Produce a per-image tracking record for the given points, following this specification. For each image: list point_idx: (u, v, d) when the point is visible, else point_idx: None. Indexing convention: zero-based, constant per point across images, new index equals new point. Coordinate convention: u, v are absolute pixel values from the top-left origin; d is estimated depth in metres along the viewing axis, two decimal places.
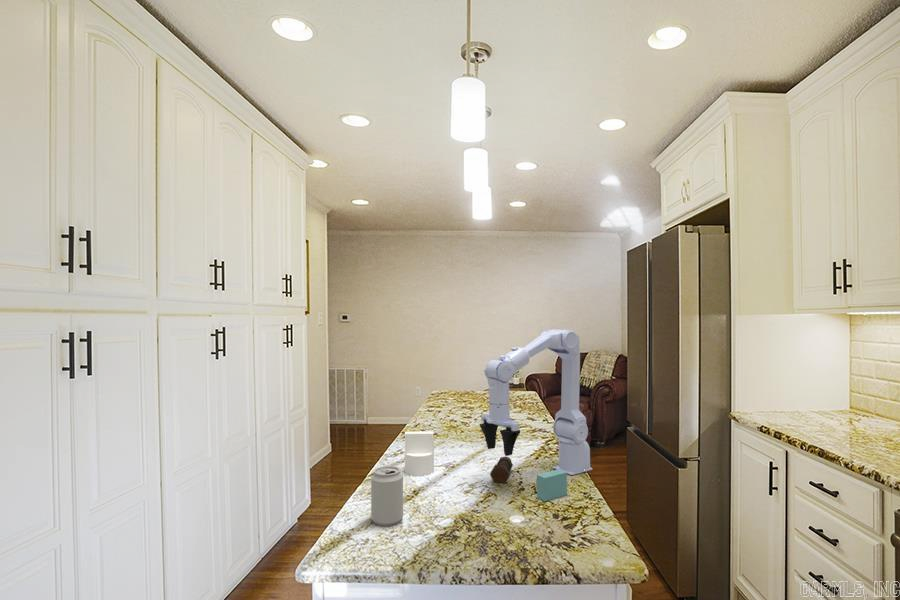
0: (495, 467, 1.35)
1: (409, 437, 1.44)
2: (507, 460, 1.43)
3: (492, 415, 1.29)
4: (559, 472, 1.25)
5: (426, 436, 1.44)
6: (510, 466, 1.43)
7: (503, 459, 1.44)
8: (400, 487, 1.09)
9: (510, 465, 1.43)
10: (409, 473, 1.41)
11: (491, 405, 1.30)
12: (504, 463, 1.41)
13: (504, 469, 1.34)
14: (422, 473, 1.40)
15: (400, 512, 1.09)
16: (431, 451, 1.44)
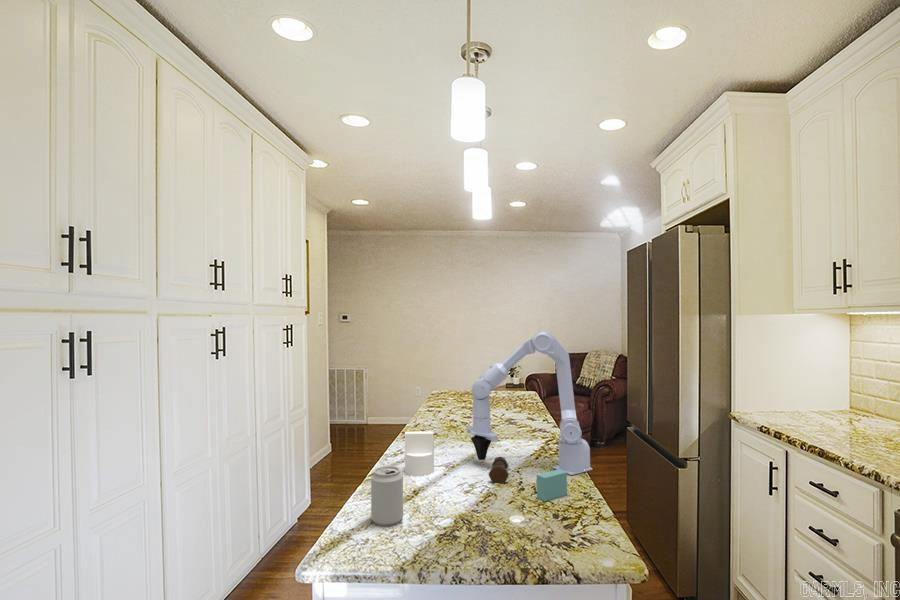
0: (494, 467, 1.34)
1: (409, 437, 1.44)
2: (503, 460, 1.43)
3: (475, 427, 1.49)
4: (559, 472, 1.25)
5: (426, 436, 1.44)
6: (506, 466, 1.43)
7: (499, 459, 1.44)
8: (400, 487, 1.09)
9: (506, 465, 1.43)
10: (409, 473, 1.41)
11: (474, 419, 1.50)
12: (501, 463, 1.41)
13: (503, 469, 1.34)
14: (422, 473, 1.40)
15: (400, 512, 1.09)
16: (431, 451, 1.44)
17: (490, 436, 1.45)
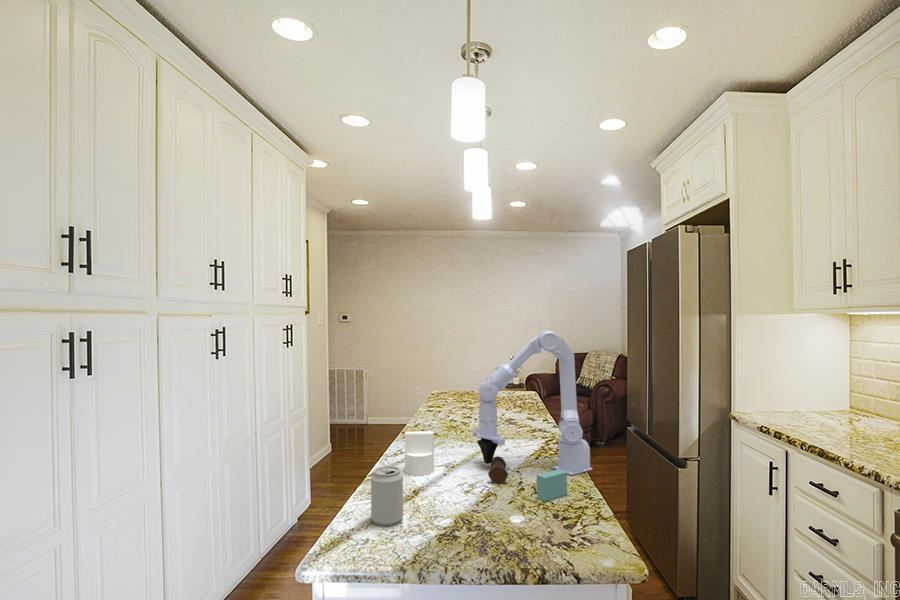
0: (493, 467, 1.34)
1: (409, 437, 1.44)
2: (501, 460, 1.43)
3: (481, 430, 1.47)
4: (559, 472, 1.25)
5: (426, 436, 1.44)
6: (504, 466, 1.43)
7: (497, 459, 1.43)
8: (400, 487, 1.09)
9: (504, 465, 1.43)
10: (409, 473, 1.41)
11: (480, 422, 1.47)
12: (499, 463, 1.41)
13: (503, 469, 1.34)
14: (422, 473, 1.40)
15: (400, 512, 1.09)
16: (431, 451, 1.44)
17: (497, 439, 1.43)
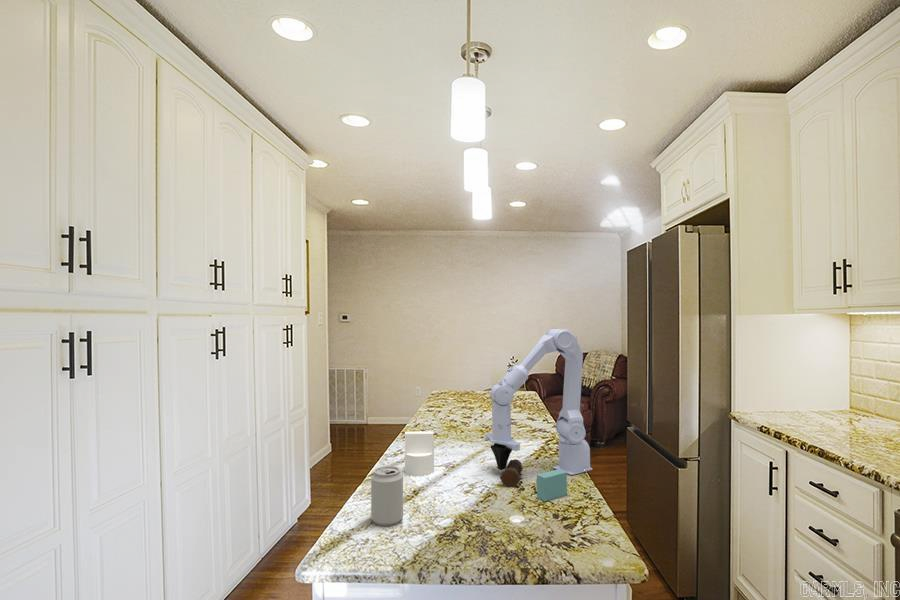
0: (505, 470, 1.32)
1: (409, 437, 1.44)
2: (517, 463, 1.40)
3: (495, 435, 1.41)
4: (559, 472, 1.25)
5: (426, 436, 1.44)
6: (520, 469, 1.40)
7: (513, 462, 1.41)
8: (400, 487, 1.09)
9: (520, 468, 1.40)
10: (409, 473, 1.41)
11: (494, 426, 1.41)
12: (514, 466, 1.38)
13: (514, 472, 1.31)
14: (422, 473, 1.40)
15: (400, 512, 1.09)
16: (431, 451, 1.44)
17: (512, 445, 1.37)
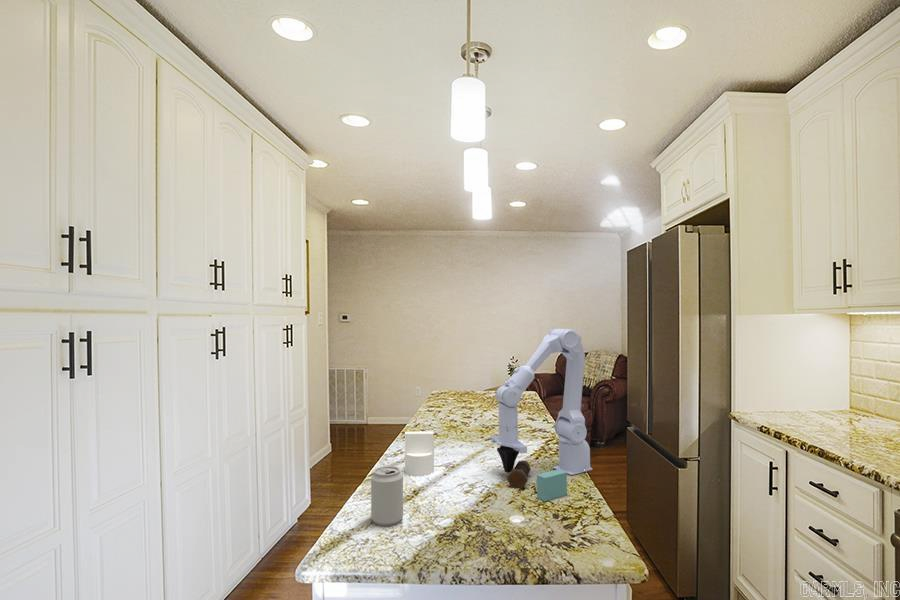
0: (512, 471, 1.31)
1: (409, 437, 1.44)
2: (525, 464, 1.39)
3: (501, 437, 1.38)
4: (559, 472, 1.25)
5: (426, 436, 1.44)
6: (528, 470, 1.39)
7: (521, 463, 1.40)
8: (400, 487, 1.09)
9: (528, 469, 1.39)
10: (409, 473, 1.41)
11: (501, 428, 1.38)
12: (522, 467, 1.37)
13: (522, 474, 1.30)
14: (422, 473, 1.40)
15: (400, 512, 1.09)
16: (431, 451, 1.44)
17: (519, 447, 1.34)
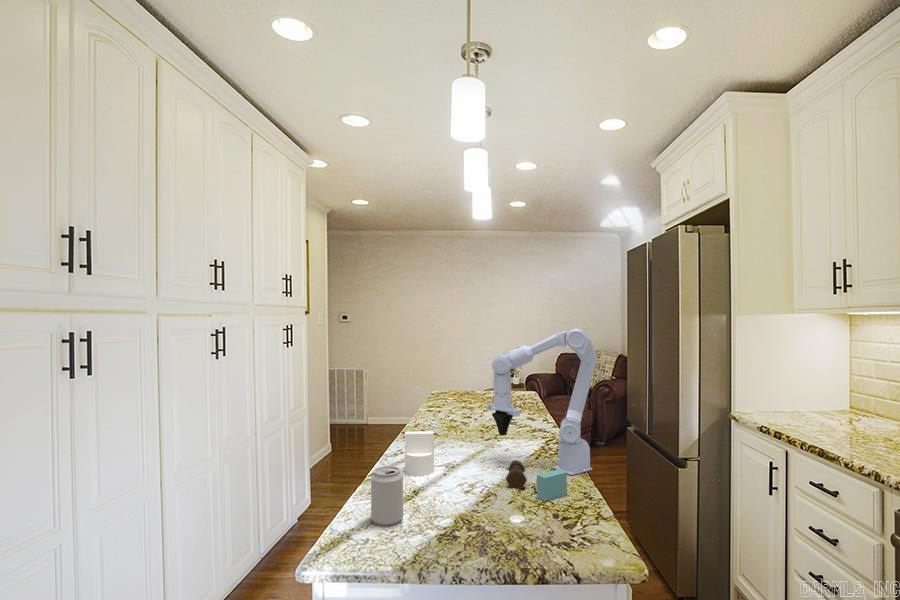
0: (511, 472, 1.30)
1: (409, 437, 1.44)
2: (519, 464, 1.40)
3: (496, 403, 1.50)
4: (559, 472, 1.25)
5: (426, 436, 1.44)
6: (522, 470, 1.39)
7: (515, 463, 1.40)
8: (400, 487, 1.09)
9: (522, 469, 1.39)
10: (409, 473, 1.41)
11: (495, 394, 1.50)
12: (517, 467, 1.37)
13: (521, 474, 1.30)
14: (422, 473, 1.40)
15: (400, 512, 1.09)
16: (431, 451, 1.44)
17: (512, 411, 1.46)
